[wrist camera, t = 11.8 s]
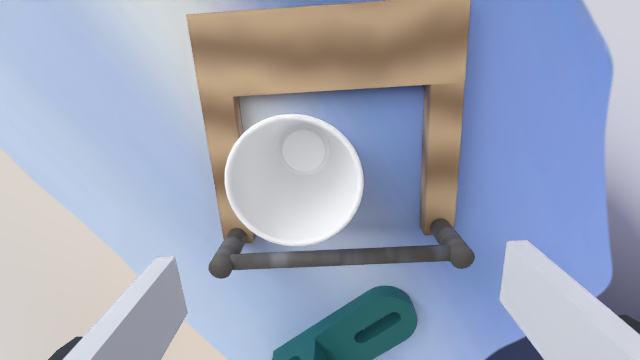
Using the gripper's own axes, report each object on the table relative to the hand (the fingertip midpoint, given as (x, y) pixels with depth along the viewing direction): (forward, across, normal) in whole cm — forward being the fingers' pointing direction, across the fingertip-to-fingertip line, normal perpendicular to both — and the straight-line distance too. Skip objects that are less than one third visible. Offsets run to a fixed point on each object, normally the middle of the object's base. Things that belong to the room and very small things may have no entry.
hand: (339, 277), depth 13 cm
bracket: (+22, +1, -23) cm, 32 cm away
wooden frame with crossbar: (+22, 0, +2) cm, 22 cm away
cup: (+22, -3, 0) cm, 22 cm away
